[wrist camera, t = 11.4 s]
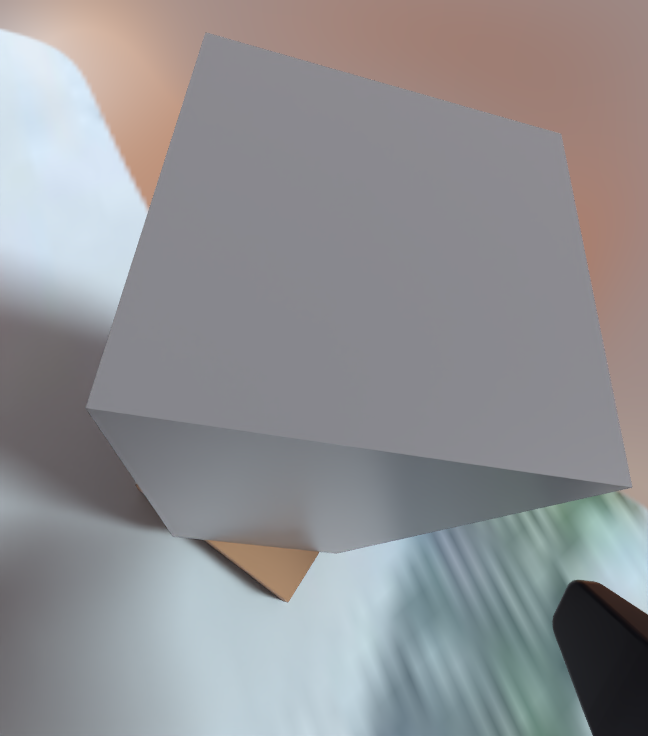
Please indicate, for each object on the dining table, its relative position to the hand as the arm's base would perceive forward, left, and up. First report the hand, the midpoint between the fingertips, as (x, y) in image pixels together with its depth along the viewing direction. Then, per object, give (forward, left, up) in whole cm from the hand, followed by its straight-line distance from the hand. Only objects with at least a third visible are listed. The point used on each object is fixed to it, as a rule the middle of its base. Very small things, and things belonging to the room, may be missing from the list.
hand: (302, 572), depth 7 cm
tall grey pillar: (+2, +3, -8) cm, 9 cm away
